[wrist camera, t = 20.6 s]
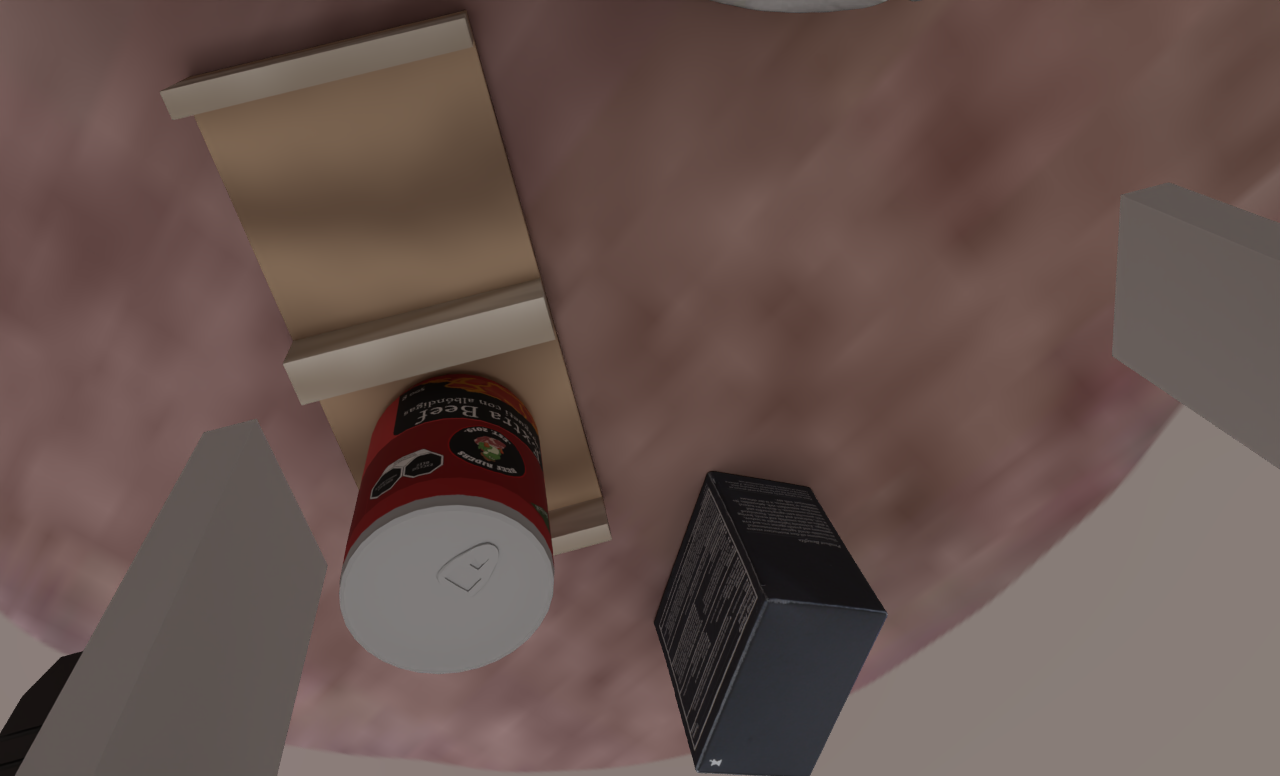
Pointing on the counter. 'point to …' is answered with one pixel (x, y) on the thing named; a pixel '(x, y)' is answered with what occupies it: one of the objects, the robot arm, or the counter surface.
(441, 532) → the canned food
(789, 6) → the dish
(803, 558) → the small box
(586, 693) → the counter surface
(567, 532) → the notched rail
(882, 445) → the counter surface
